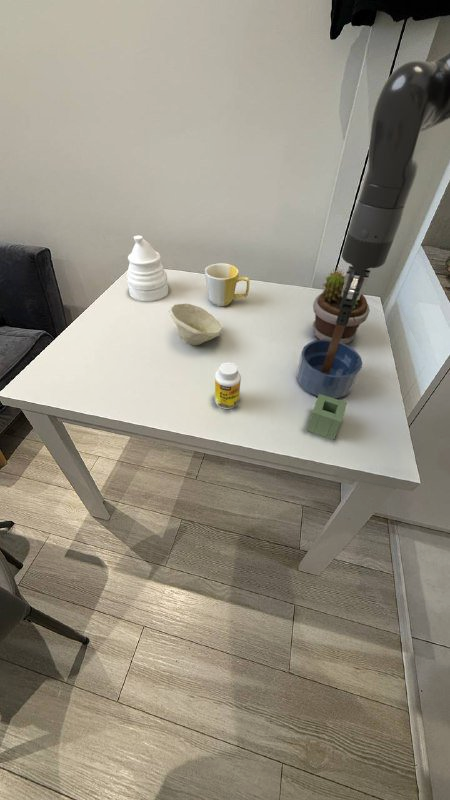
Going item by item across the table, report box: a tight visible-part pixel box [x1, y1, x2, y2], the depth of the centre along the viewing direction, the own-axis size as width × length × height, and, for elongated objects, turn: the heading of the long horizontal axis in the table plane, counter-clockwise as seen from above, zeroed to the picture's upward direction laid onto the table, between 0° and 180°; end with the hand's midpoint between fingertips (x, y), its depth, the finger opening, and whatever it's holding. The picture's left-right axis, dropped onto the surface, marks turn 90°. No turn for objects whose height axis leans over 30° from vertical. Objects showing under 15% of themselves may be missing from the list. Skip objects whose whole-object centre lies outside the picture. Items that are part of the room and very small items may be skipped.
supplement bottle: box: [214, 361, 242, 410], centre depth 72 cm, size 6×6×10 cm
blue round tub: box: [295, 339, 363, 399], centre depth 79 cm, size 14×14×8 cm
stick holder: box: [306, 394, 348, 440], centre depth 69 cm, size 6×6×6 cm
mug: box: [204, 262, 250, 307], centre depth 102 cm, size 14×10×10 cm
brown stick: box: [321, 324, 345, 374], centre depth 71 cm, size 2×2×20 cm
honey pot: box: [126, 235, 169, 302], centre depth 103 cm, size 13×13×18 cm
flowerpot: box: [312, 266, 371, 345], centre depth 88 cm, size 14×15×20 cm
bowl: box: [168, 303, 224, 346], centre depth 88 cm, size 15×14×10 cm
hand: (342, 321), depth 67 cm, fingers closed on brown stick, 2 cm apart
